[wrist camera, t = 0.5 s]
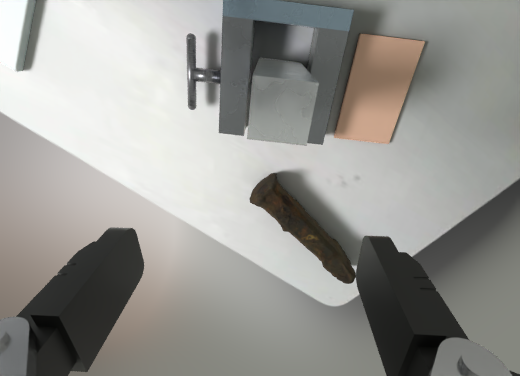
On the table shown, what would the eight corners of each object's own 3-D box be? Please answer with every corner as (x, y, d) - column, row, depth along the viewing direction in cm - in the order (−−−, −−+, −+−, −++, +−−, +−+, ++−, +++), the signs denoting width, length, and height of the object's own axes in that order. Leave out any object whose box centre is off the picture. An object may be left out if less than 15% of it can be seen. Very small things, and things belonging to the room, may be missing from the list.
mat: (359, 33, 26) (360, 33, 25) (423, 41, 26) (425, 41, 25) (333, 136, 31) (334, 137, 30) (387, 142, 31) (388, 143, 30)
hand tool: (248, 185, 34) (245, 207, 30) (274, 167, 33) (274, 187, 29) (332, 271, 41) (339, 297, 37) (356, 259, 40) (365, 285, 36)
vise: (189, -8, 24) (180, -12, 22) (345, 12, 25) (353, 9, 22) (192, 120, 30) (184, 129, 28) (318, 134, 30) (322, 144, 28)
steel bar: (259, 57, 27) (252, 75, 16) (300, 62, 27) (319, 82, 17) (255, 99, 29) (247, 138, 18) (293, 103, 29) (306, 145, 19)
